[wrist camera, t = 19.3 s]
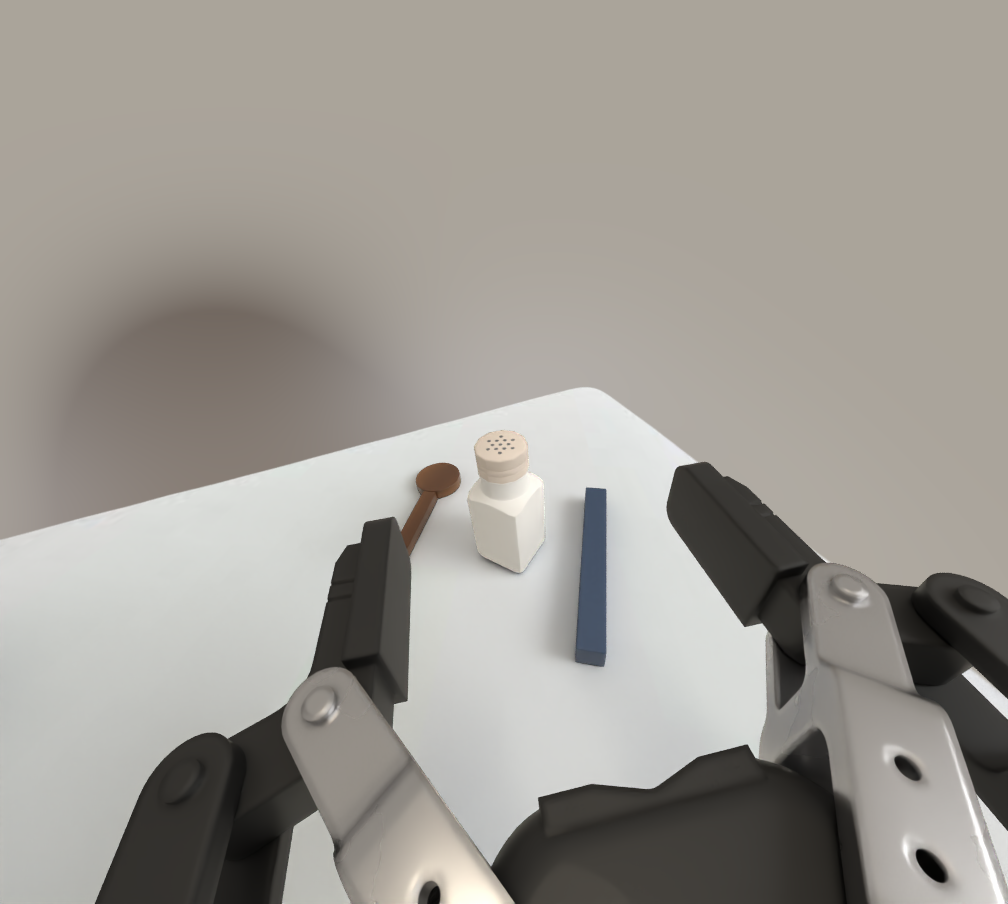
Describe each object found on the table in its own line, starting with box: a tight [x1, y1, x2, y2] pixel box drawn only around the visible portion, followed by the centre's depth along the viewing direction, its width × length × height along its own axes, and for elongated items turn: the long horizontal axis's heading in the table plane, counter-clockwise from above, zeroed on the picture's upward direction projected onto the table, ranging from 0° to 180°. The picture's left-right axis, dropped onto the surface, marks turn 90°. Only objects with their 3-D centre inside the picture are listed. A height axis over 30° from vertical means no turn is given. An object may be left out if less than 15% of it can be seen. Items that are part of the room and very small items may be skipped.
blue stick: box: [575, 488, 606, 666], centre depth 26 cm, size 2×13×2 cm, turn 168°
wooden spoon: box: [401, 463, 461, 556], centre depth 31 cm, size 4×14×1 cm, turn 168°
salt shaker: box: [467, 430, 545, 573], centre depth 25 cm, size 4×4×10 cm
